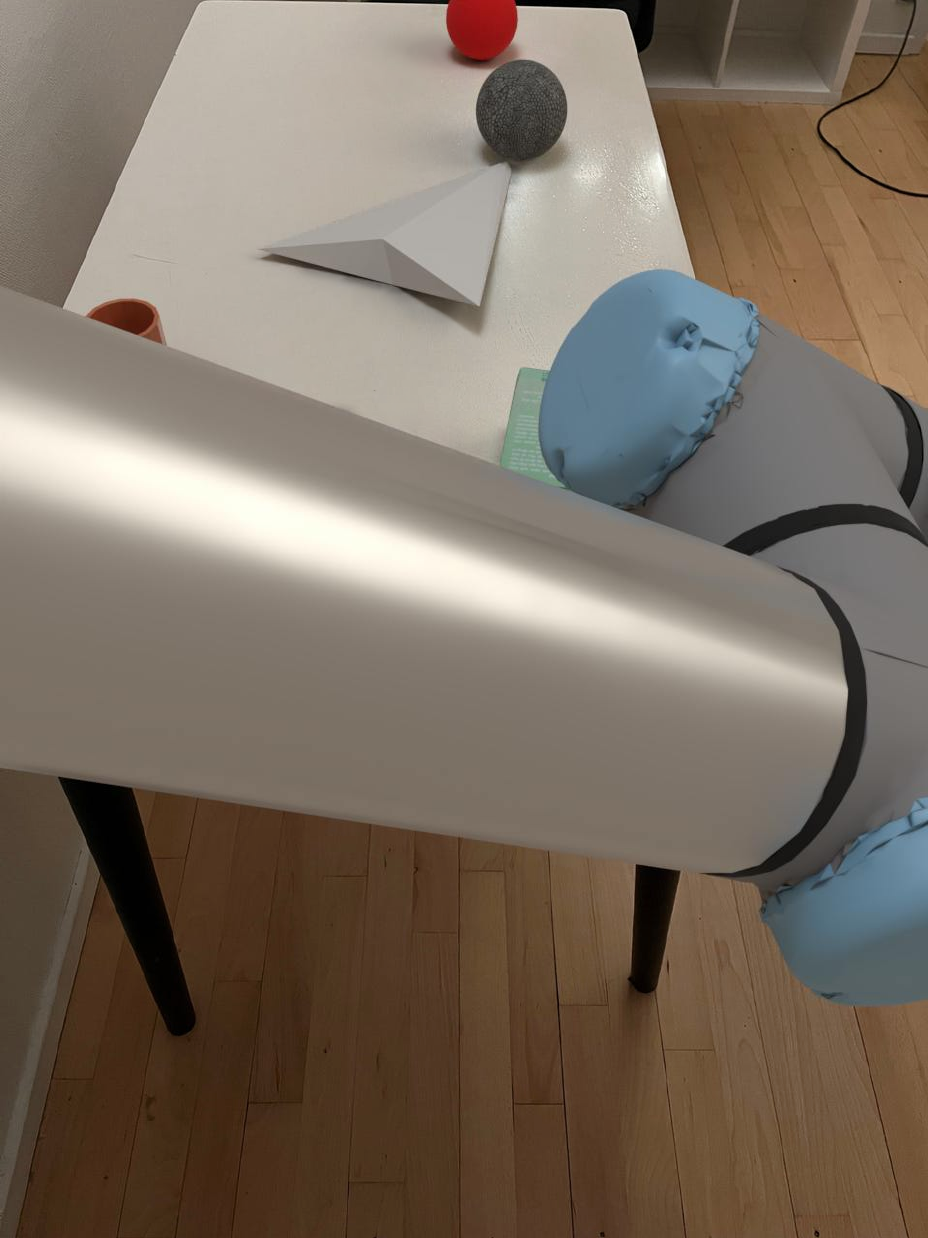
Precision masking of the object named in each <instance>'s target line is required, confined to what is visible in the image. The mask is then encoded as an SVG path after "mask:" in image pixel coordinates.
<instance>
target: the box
mask: <svg viewBox="0 0 928 1238" xmlns="http://www.w3.org/2000/svg"><path fill="white" fill-rule="evenodd" d="M549 371H550V369H549V370H548V369H541V368H532V367H527V366H525V367H520V368H519V370H518V374H517V377H516V380H515V385H514V390H513V395H512V400H511V406H510V411H509V416H508V421H507V427H506V430H505V436H504V441H503V447H502V452H501V457H500V463H499V466H501V467H504V468H507V469H509V470H512V471H515V472H518V473H520V474H523V475H526V476H529V477H531V478H534V479H537V480H540V481H543V482H545V483H548V484H551V485H554V486H556V487H559V488H562V489H565V490H568V491H570V492H573V491H571V490H570V489H568V488H566V487H565V486H564V485H563V484H562V483H561V482H559V481H558V480H557V479H556V477H555V476H554V475H553V474H552V473H551V472H550V471H549V469H548V468H547V466H546V464H545V460H544V458H543V456H542V453H541V448H540V442H539V433H538V423H539V411H540V405H541V400H542V395H543V391H544V387H545V383H546V380H547V377H548V374H549ZM573 493H575V492H573ZM576 494H577V493H576Z"/></svg>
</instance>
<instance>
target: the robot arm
mask: <svg viewBox="0 0 928 1238" xmlns="http://www.w3.org/2000/svg"><path fill="white" fill-rule="evenodd" d="M85 316H86V315H82V314H80V313H76V312H74V311H72V310H69V309H65V308H63V307H61V306H58V305H54V304H52V303H49V302H45V301H43V300H41V299H38V298H36V297H32V296H30V295H27V294H24V293H21V292H19V291H16V290H13V289H10V288H7V287H5V286H2V285H0V769H5V770H11V771H12V770H14V771H20V772H27V773H33V774H40V775H47V776H52V777H58V778H59V777H60V778H65V779H72V780H80V781H84V782H85V781H86V782H90V783H91V782H92V783H99V784H104V785H112V786H118V787H119V786H120V787H125V788H132V789H138V790H145V791H150V792H158V793H165V794H171V795H179V796H185V797H191V798H198V799H204V800H211V801H217V802H224V803H231V804H238V805H243V806H250V807H257V808H262V809H263V808H264V809H269V810H270V809H271V810H277V811H284V812H290V813H296V814H303V815H310V816H315V817H316V816H318V817H322V818H330V819H335V820H336V819H337V820H344V821H349V822H355V823H363V824H368V825H376V826H382V827H388V828H396V829H403V830H408V831H416V832H421V833H427V834H428V833H429V834H435V835H440V836H441V835H443V836H448V837H456V838H462V839H467V840H475V841H480V842H488V843H495V844H501V845H508V846H514V847H520V848H527V849H534V850H541V851H546V852H555V853H560V854H568V855H575V856H579V857H580V856H581V857H586V858H593V859H598V860H599V859H600V860H607V861H612V862H613V861H614V862H619V863H626V864H633V865H640V866H647V867H653V868H660V869H667V870H672V871H679V872H687V873H692V874H693V873H694V874H699V875H700V874H701V875H706V876H711V877H715V878H721V879H725V880H730V881H735V882H742V883H746V884H747V883H748V884H753V885H754V886H756V888H757V890H758V893H759V896H760V901H761V907H760V908H759V909H758V914H759V917H760V920H761V923H763V924H764V925H765V926H767V927H769V929H770V931H771V934H772V935H773V938H774V940H775V942H776V944H777V947H778V948H779V950H780V953H781V956H782V958H783V960H784V963H785V964H786V966H787V968H788V970H789V971H790V973H791V974H792V975H793V976H794V977H795V978H796V979H797V981H799V982H800V983H801V984H802V985H803V987H806V988H808V989H810V991H811V993H812V994H814V995H815V996H817V997H818V998H821V999H823V1000H826V1001H828V1002H831V1003H834V1004H837V1005H842V1006H847V1007H848V1006H849V1007H865V1008H869V1007H870V1008H871V1007H872V1008H873V1007H890V1006H901V1005H906V1004H914V1003H919V1002H924V1001H928V407H924V406H922V405H920V404H919V403H917V402H916V401H914V400H912V399H910V398H909V397H908V396H906V395H904V394H903V393H900V392H898V391H897V390H895V389H893V388H891V387H889V386H886V385H884V384H880V383H879V382H876V381H874V380H872V379H871V378H869V377H868V376H866V375H864V374H863V373H861V372H860V371H858V370H856V369H855V368H853V367H851V366H850V365H848V364H846V363H844V362H843V361H841V360H839V359H838V358H836V357H834V356H833V355H831V354H829V353H828V352H826V351H825V350H823V349H821V348H820V347H818V346H816V345H814V344H813V343H811V342H809V341H808V340H807V339H805V338H803V337H802V336H800V335H798V334H796V333H795V332H793V331H792V330H790V329H788V328H787V327H785V326H783V325H781V324H780V323H778V322H776V321H775V320H773V319H772V318H770V317H768V316H767V315H765V314H763V313H761V312H760V311H759V309H758V307H757V304H756V303H754V302H752V301H751V300H750V299H746V298H744V297H742V296H741V297H737V298H736V297H734V296H732V295H730V294H728V293H725V292H723V291H721V290H720V289H717V288H715V287H712V286H710V285H708V284H707V283H705V282H702V281H700V280H697V279H696V278H693V277H691V276H689V275H687V274H685V273H683V272H680V271H676V270H671V269H663V268H660V269H659V268H658V269H657V268H655V269H649V270H645V271H639V272H638V273H635V274H632V275H629V276H627V277H625V278H623V279H621V280H619V281H618V282H616V283H614V284H613V285H612V286H610V287H608V288H607V290H605V291H604V292H602V293H601V294H600V295H599V296H598V297H597V298H596V299H594V301H593V302H591V304H590V306H589V307H588V308H587V310H586V312H585V313H584V314H583V315H582V317H581V318H580V319H579V320H578V321H577V323H575V325H574V326H573V327H572V328H571V329H570V330H569V332H568V333H567V335H566V337H565V338H564V340H563V341H562V343H561V345H560V347H559V348H558V351H557V353H556V354H555V357H554V359H553V362H552V363H551V367H550V369H549V374H548V377H547V380H546V383H545V387H544V391H543V395H542V400H541V405H540V411H539V423H538V433H539V442H540V448H541V453H542V456H543V458H544V460H545V464H546V466H547V468H548V469H549V471H550V472H551V473H552V474H553V475H554V476H555V477H556V479H557V480H558V481H559V482H561V483H562V484H563V485H564V486H565V487H566V488H568V489H570V490H571V491H573V492H575V493H573V492H570V491H568V490H565V489H562V488H559V487H556V486H554V485H551V484H548V483H545V482H543V481H540V480H537V479H534V478H531V477H529V476H526V475H523V474H520V473H518V472H515V471H512V470H509V469H507V468H504V467H501V466H500V465H498V464H496V463H493V462H491V461H487V460H484V459H481V458H478V457H476V456H473V455H471V454H468V453H465V452H462V451H459V450H456V449H454V448H452V447H448V446H445V445H444V444H443V445H442V444H440V443H438V442H434V441H432V440H429V439H426V438H423V437H420V436H418V435H415V434H412V433H410V432H406V431H404V430H401V429H399V428H395V427H393V426H390V425H387V424H384V423H383V422H379V421H376V420H373V419H370V418H368V417H364V416H362V415H359V414H357V413H354V412H352V411H348V410H346V409H343V408H340V407H338V406H334V405H331V404H329V403H326V402H323V401H322V400H321V401H320V400H318V399H316V398H313V397H309V396H306V395H305V394H301V393H299V392H296V391H293V390H290V389H287V388H285V387H282V386H279V385H276V384H273V383H272V382H271V383H270V382H269V381H265V380H262V379H260V378H257V377H254V376H251V375H249V374H246V373H243V372H240V371H237V370H235V369H232V368H230V367H226V366H223V365H221V364H218V363H216V362H213V361H209V360H208V359H204V358H202V357H198V356H196V355H193V354H190V353H188V352H185V351H182V350H180V349H176V348H173V347H171V346H168V345H167V346H166V345H163V344H160V343H157V342H155V341H152V340H149V339H146V338H143V337H141V336H138V335H135V334H132V333H130V332H127V331H124V330H121V329H118V328H116V327H113V326H110V325H107V324H105V323H102V322H99V321H96V320H94V319H91V318H88V317H85ZM576 493H577V494H576Z"/></svg>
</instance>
